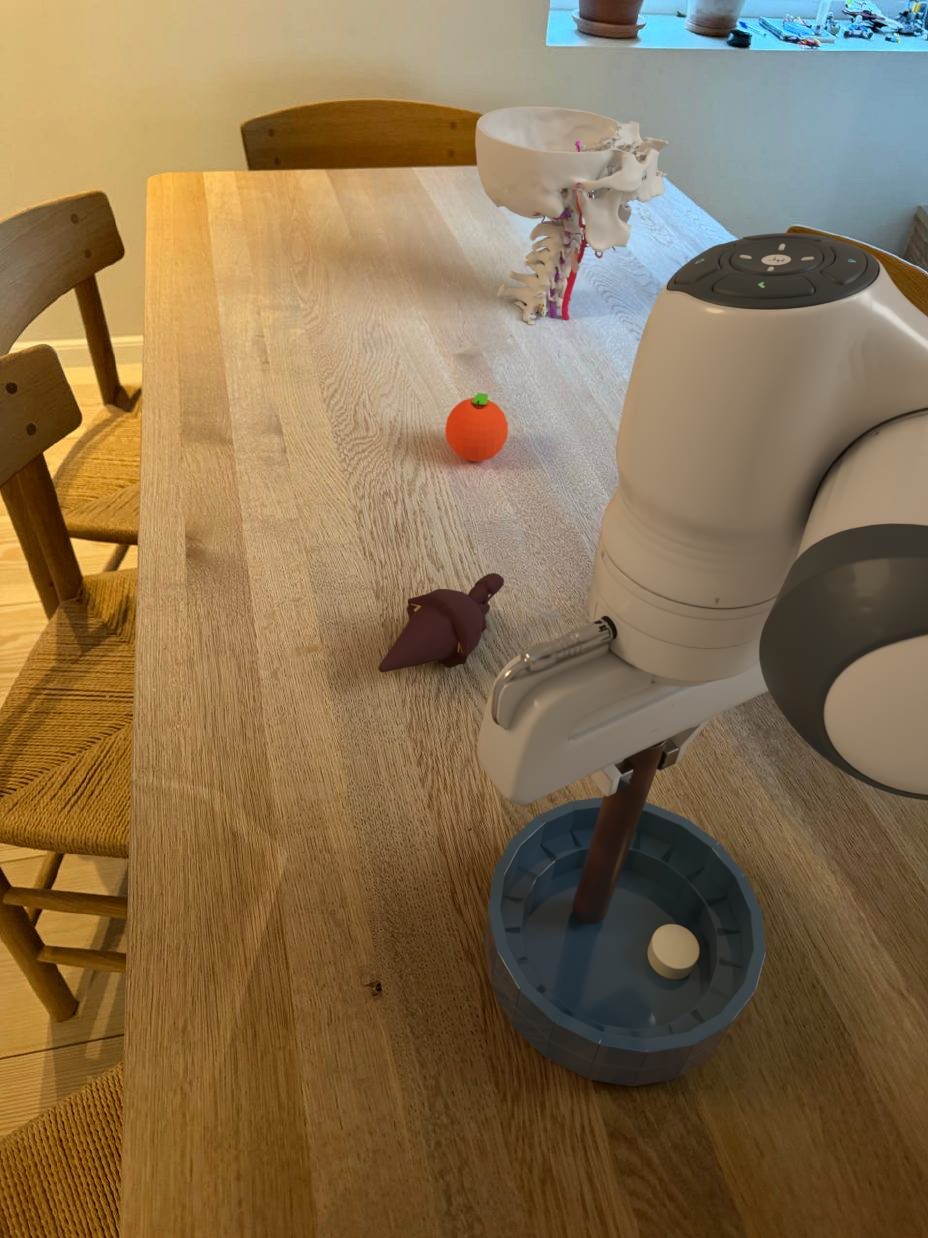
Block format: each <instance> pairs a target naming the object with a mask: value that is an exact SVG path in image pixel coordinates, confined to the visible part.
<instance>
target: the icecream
mask: <svg viewBox="0 0 928 1238" xmlns="http://www.w3.org/2000/svg"><path fill="white" fill-rule="evenodd" d="M504 584H505V579H504V577H503V576H502V575H500V574H499V573H496V572H491V573H487V574H485V575H484V576H482V577H481V578H479V579H478V580H477V581H476V582H475V583H474V586H473V587H472V588H471V589H470V590H469V591H468V593H465V592H463V591H460V590H455V589H450V588H438V589H435V590H432V591H430V592H428V593H425V594H421V595H418V596H414V597H410V598H407V606H406V614H407V616H408V621H407V623H406V624H405V626H404V627H403V629H402V630H401V632H400V634H399V635H398V636H397V638H396V640H394V642H393V644H392V645H391V647H390V649H389V650H388V651H387V653H386V654H385V656H384V657H383V659H382V660H381V662H380V663H379V666H378V667H377V669H378V671H379V672H380V673H388V672H393V671H396V670H402V669H407V668H411V667H412V668H413V667H416V666H417V667H418V666H422V665H426V664H427V665H428V664H431V663H439V664H440V665H441V666H443V667H445V668H448V669H449V668H454V667H457V666H460V665H465V664H466V663H467V660H468V658H469V656H470V655H471V653H472V652H473V651H475V649H476V648H477V647H478V646H479V644H480V641H481V639H482V635H483V633H484V632H485V631H486V630H487V629H488V625H487V619H486V616H487V615H488V613H489V611H490V610H491V605H490V604H489V601H490V600H491V599H492V598H493V597H494V596H495V595H496V594H497V593H498V592H499V591H500V590H501V589H502V588H503V587H504Z"/></svg>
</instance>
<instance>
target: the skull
mask: <svg viewBox="0 0 928 1238" xmlns="http://www.w3.org/2000/svg"><path fill="white" fill-rule="evenodd" d="M640 134H641V133H640V123H639V122H637V121H634V120H633V121H632V120H629V122H628V123H625V122H620V121H618V120H615V119H613V118H611V117H608V116H605V115H601V114H598V113H595V112H591V111H587V110H583V109H574V108H566V107H558V106H540V105H539V106H537V105H535V106H534V105H533V106H531V105H529V106H528V105H527V106H525V105H524V106H512V107H504V108H500V109H495V110H491V111H489V112H486V113H485V114H483V115H481V116H480V117H479V118H478V120H477V122H476V127H475V138H474V147H475V155H476V168H477V172H478V177H479V180H480V182H481V186H482V188H483V191H484V193H485V195H486V196H487V197H488V198H489V200H490V201H491V202H492V203H493V204H494V205H495V207H497V208H500V207H504V208H506V209H507V210H508V211H509V212H511V213H513V214H515V215H517V216H520V217H523V218H527V219H530V220H531V219H532V220H537V219H542V220H541V222H540V223H538V224H536V225H535V226H534V228H533V229H532V231H531V233H530V234H529V239H530V241H531V242H534V241H535V240H536V239H537V238H539V237H543V238H542V239H541V240H538V241H536V242H534V243H533V244H532V245H531V249H532V251H531V252H529V253H528V254H526V255H525V259H526V260H524V262H523V263H524V267H529V269H531V270H532V271H533V272H535V273H530V274H529V273H519V272H516V271H510V272H509V278H510V279H512V280H515V281H517V282H520V283H523V284H524V285H525V286H524V287H513V288H512V287H509V286H508V284H506V283H503V284H502V285H501V286H500V287H499V289H498V290H497V293H496V297H497V298H498V299H499V300H503V299H505V298H514V299H518V301H514V302H513V304H515V305H517V306H518V307H520V308H521V309H522V310H524V311H523V314H522V321H523V322H526V323H527V324H528V325H536V324H537V322H536V321H535V319H537V316H536V313H537V312H538V314H539V315H538V316H539V319H541V315H542V316H543V317H546V316H547V313H549V316H550V317H551V318H558V313H557V309H559V310H561V317H562V320H565V321H568V320H570V316H569V315H570V314H569V303H570V301H571V300H572V299H571V296H572V292H573V289H574V286H575V283H576V279H577V276H578V272H579V270H580V263H581V262H582V260H583V257H584V255H585V250H586V248H591V249H592V251H594V256H595V257H596V258H597V259H602V258H603V254H604V253H605V252H606V251H607V250H610V249H612V250H613V251H614V252H616V248H615V247H617V248H618V247H619V248H627V246H628V243H629V239H630V236H631V231H632V225H631V224H630V223H628V221H629V220H630V217H631V215H632V211H633V209H632V208H633V207H632V206H631V205H630V204H629V202H633V201H636V200H637V201H638V202H641V203H647V202H649V201H651V200H652V199H653V198H656V197H660V196H662V195H663V194H664V192H665V191H666V187H665V183H664V177H665V176H667V175H668V173H667V172H663V171H661V170H659V169H658V161H659V160H658V159H659V155H660V153H661V151H662V150H663V149H664V148H665V147H666V146H668V145H669V141H667V140H664V139H660V138H654V137H653V136H651V137H644V141H643V139H642V137H641V135H640ZM546 218H547V219H549V220H545V219H546ZM583 221H584V224H583ZM540 248H542V249H540ZM598 253H600V254H598ZM525 304H526V305H525Z"/></svg>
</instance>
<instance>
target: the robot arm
mask: <svg viewBox="0 0 928 1238" xmlns="http://www.w3.org/2000/svg"><path fill="white" fill-rule="evenodd" d="M618 426H619V427H618V431H617V437H616V442H615V443H616V444H615V459H616V460H615V461H616V467H617V472H618V482H617V487H616V489H615V492H614V493H613V495H612V497H611V498H610V500H609V501H608V504H607V506H606V508H605V510H604V513H603V516H602V521H601V525H600V529H599V530H600V531H599V536H598V541H597V546H596V552H595V558H594V562H593V569H592V574H591V580H590V586H589V590H588V592H589V593H588V597H587V613H588V617H589V621H590V622H589V623H587V624H583V625H581V626H579V627H577V628H574V629H572V630H570V631H568V632H567V633H565V634H563V635H561V636H559V637H557V638H554V639H552V640H549V641H548V640H545V641H542V642H539V643H535V644H534V645H532V646H530V647H528V648H527V649H525V650H524V651H522V652H521V653H520V654H518V655H517V656H515V657H513V658H512V659H511V660H510V661H509V662H508V663H506V665H505V666H504V667H503V668H502V669H501V671H500V672H499V674H497V677H496V678H495V680H494V682H493V683H492V687H491V690H490V693H489V696H488V699H487V703H486V705H485V709H484V713H483V716H482V721H481V724H480V729H479V734H478V739H477V746H476V756H477V759H478V762H479V764H480V765H481V767H482V769H483V771H484V772H485V774H486V776H487V777H488V779H489V780H490V781H491V783H492V784H493V785H494V787H495V788H496V789H497V790H498V792H499V793H500V794H501V795H502V796H503V797H504V798H505V799H506V800H508V801H510V802H512V803H513V804H516V805H518V806H526V805H527V806H528V805H530V804H531V803H534V802H536V801H538V800H540V799H542V798H545V797H546V796H548V795H551V794H553V793H556V792H557V791H559V790H562V789H563V788H566V787H568V786H570V785H572V784H574V783H576V782H578V781H580V780H583V779H585V778H586V777H589V776H590V778H591V780H592V782H593V784H594V785H595V786H596V787H597V789H598V790H599V791H600V792H601V793H602V795H603V796H604V795H605V796H607V797H608V796H610V795H612V794H614V793H616V792H618V791H620V790H622V789H624V788H626V787H628V786H629V785H630V781H629V780H630V779H631V778H632V775H633V771H634V770H633V769H632V768H631V767H630V765H629V764H628V763H627V762H625V761H623V760H624V759H625V758H627V757H629V756H632V755H634V754H636V753H638V752H640V751H642V750H644V749H646V748H649V747H651V746H653V745H655V744H657V743H659V742H661V741H663V740H666V739H667V742H666V745H665V747H664V750H663V753H662V756H661V759H660V762H659V765H658V767H657V771H663V770H665V769H667V768H669V767H671V766H673V765H674V766H675V765H677V764H678V763H680V762H682V761H683V758H684V755H685V753H686V749H687V747H688V745H690V743H692V741H693V740H694V739H695V738H696V737H697V736H698V734H699V733H700V732H701V731H702V730H703V729H704V728H705V727H706V726H707V725H708V724H709V723H710V721H712V718H714V717H716V716H719V715H720V714H723V713H725V712H727V711H729V710H731V709H733V708H736V707H737V706H739V705H742V704H744V703H746V702H748V701H750V700H753V699H755V698H757V697H759V696H762V695H763V694H766V693H767V692H769V694H770V696H771V698H772V699H773V701H774V703H775V704H776V706H777V707H778V710H779V711H780V712H781V713H782V715H783V716H784V717H785V719H786V721H787V722H788V723H789V725H790V726H791V727H792V728H793V729H794V730H795V732H796V733H797V734H798V735H799V736H800V738H801V739H803V740H804V742H806V743H807V744H808V746H810V747H811V748H812V749H813V750H814V751H815V752H816V753H817V754H819V756H821V757H822V758H824V759H825V760H826V761H828V762H829V764H831V765H832V766H835V767H836V768H838V769H839V770H840V771H842V772H844V773H845V774H847V775H849V776H850V777H852V778H854V779H855V780H857V781H859V782H862V783H863V784H865V785H867V786H870V787H872V788H874V789H876V790H880V791H883V792H886V793H889V794H892V795H895V796H899V797H903V798H908V799H914V800H919V801H928V316H927V315H926V314H924V312H922V311H921V310H920V309H919V308H918V307H916V306H915V305H914V304H913V303H912V302H911V301H910V300H909V299H908V298H907V297H906V296H905V295H904V294H903V293H902V292H901V290H900V289H899V288H898V287H897V285H896V284H895V283H894V281H893V280H892V278H891V277H890V275H889V273H888V272H887V270H886V268H885V266H883V263H882V262H881V261H880V260H878V259H877V258H876V257H875V256H874V255H873V254H871V253H870V252H868V251H867V250H866V249H864V248H861V247H859V246H857V245H855V244H852V243H849V242H845V241H842V240H837V239H835V238H834V237H831V236H827V235H820V234H813V233H802V232H775V233H774V232H773V233H765V234H764V233H763V234H754V235H748V236H743V237H742V238H739V239H736V240H731V241H728V242H724V243H719V244H716V245H714V246H711V247H710V248H708V249H706V250H704V251H702V252H701V253H699V254H698V255H696V256H694V257H693V258H692V259H690V260H689V261H688V262H686V263H684V264H683V265H682V266H681V267H680V268H679V269H678V270H676V272H675V273H674V274H672V276H671V277H670V278H669V279H668V281H667V282H665V284H664V285H663V287H662V288H661V290H660V291H659V293H658V295H657V297H656V299H655V301H654V303H653V305H652V307H651V310H650V312H649V314H648V317H647V320H646V322H645V325H644V328H643V331H642V333H641V337H640V341H639V343H638V347H637V350H636V354H635V357H634V361H633V364H632V368H631V373H630V376H629V380H628V385H627V389H626V393H625V398H624V402H623V405H622V411H621V417H620V420H619V425H618Z"/></svg>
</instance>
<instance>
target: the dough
mask: <svg viewBox="0 0 928 1238" xmlns="http://www.w3.org/2000/svg"><path fill="white" fill-rule="evenodd" d="M699 953H700V949H699V944H698V942H697V940H696V938H695V936H694V935H693V934H692V933H691V932H690V931H689V930H688V929H686V928H684V927H682V926H680V925H675V924H667V925H664V926H661V927H660V928H658V929H657V930H656V931H655V932H654V934H653V936H652V939H651V942H650V944H649V947H648V959H649V962H650V964H651V966H652V967H653V969H654V970H655V971H656V972H657V973H659V974H660V975H662V976H663V977H666V978H669V979H682V978H684V977H686V976H688V975H689V974H690V973H691V972H692V970H693V968H694V966H695V964H696V962H697V960H698V957H699Z"/></svg>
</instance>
